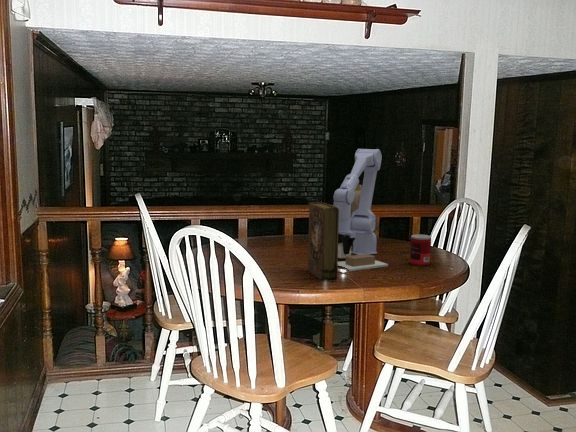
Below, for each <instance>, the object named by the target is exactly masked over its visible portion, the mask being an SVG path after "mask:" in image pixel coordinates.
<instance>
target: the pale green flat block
mask: <svg viewBox="0 0 576 432" xmlns="http://www.w3.org/2000/svg"><path fill="white" fill-rule="evenodd" d="M338 266H342V267H345V268H347V269H348V270H349V271H348V272H353V271H363V270H370V269H371V270H372V269H377V268H378V269H379V268H385V267H386V268H387V267H389V264H388V263H386V262H383V261H380V260H376V256H375V255H373V254H362V255H356V254H352V255H351V256H346V258H345V260H341V261H340V260H339V261H338Z"/></svg>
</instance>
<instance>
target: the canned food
mask: <svg viewBox="0 0 576 432" xmlns="http://www.w3.org/2000/svg"><path fill="white" fill-rule="evenodd" d="M431 251H432V236H431V235H428V234H412V235H411V236H410V250H409V252H410V253H409V263H410V264H411V265H412V266H416V265H417V266H418V267H425V265H427V266H430V263H431V255H432V253H431Z"/></svg>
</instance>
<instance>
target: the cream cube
mask: <svg viewBox="0 0 576 432" xmlns="http://www.w3.org/2000/svg"><path fill="white" fill-rule="evenodd" d="M351 251H352V248H351V249H350V252H349V254H344V252H343V243H338V259H346V256H352V253H351Z"/></svg>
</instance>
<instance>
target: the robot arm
mask: <svg viewBox="0 0 576 432" xmlns="http://www.w3.org/2000/svg"><path fill="white" fill-rule="evenodd" d="M382 157H383V155H382V152H381V150H380V149H379V148H376V149H374V148H373V149H371V148H370V149H369V148H357V150H355V153H354V165H353V167H352V169H351V171H350V173H348V174H346V176H345V178H344V179H343V181H342V183H341V184H342V185H341V184H340V187H339V188H337V189H336V190H335V191H334V194H333V196H332V197H333V198H332V199H333V203H334V202H335V207H338V208H339V227H338V243H343V252H344V254H349V252H350V249H351V254H352V255H362V254H369V255H375V254H376V255H377V254H378V252H377V234H375V232H374V231H375V229H376V218H377V217H376V215H375V214H374V212H373V211H372V210H371V209H372V203H373V202H372V201H373V197H374V191H375V185H376V179H377V174H378V171H380V169H381V165H382ZM362 173H364V174H363V180H362V184H361V185H362V191H361V196H360V202H359V208H358V209H357V210H356V211H354V212H353V213H352V217H351V203H352V202H353V200H354V194H355V192H354V191H355V189H356V187H357V185H358V184H360V179H359V178H360V176H361V175H362ZM350 217H351V219H350ZM367 217H369V218H367ZM350 229H351V230H352V231H351V230H350ZM344 235H345V237H344ZM352 243H353V245H352Z"/></svg>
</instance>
